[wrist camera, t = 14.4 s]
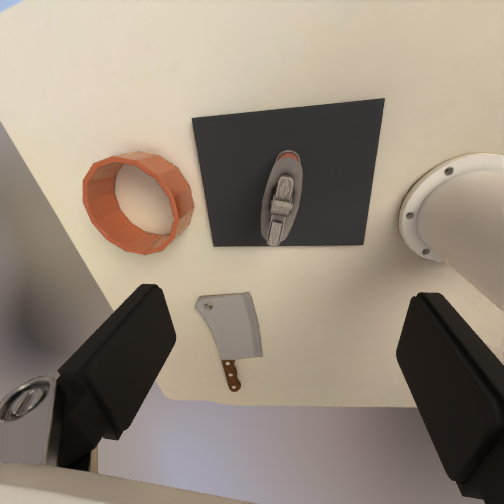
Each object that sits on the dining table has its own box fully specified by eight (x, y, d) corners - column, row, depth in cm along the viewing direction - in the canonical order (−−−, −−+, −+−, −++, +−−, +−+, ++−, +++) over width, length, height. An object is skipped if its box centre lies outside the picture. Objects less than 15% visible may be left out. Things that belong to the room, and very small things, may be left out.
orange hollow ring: (182, 147, 29) (163, 151, 25) (200, 238, 34) (187, 254, 30) (97, 154, 31) (65, 159, 26) (127, 239, 36) (104, 255, 32)
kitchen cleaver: (268, 392, 48) (220, 391, 49) (268, 387, 49) (221, 387, 50) (252, 294, 37) (191, 297, 38) (253, 290, 38) (193, 293, 39)
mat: (382, 98, 24) (385, 98, 23) (361, 242, 31) (363, 245, 31) (194, 118, 27) (191, 118, 27) (215, 244, 35) (213, 246, 34)
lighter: (275, 147, 27) (268, 158, 18) (305, 152, 26) (312, 166, 18) (263, 214, 31) (252, 250, 22) (289, 220, 30) (288, 258, 22)
